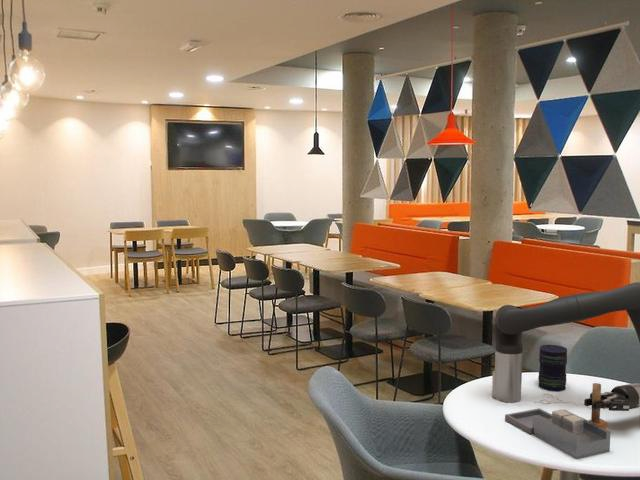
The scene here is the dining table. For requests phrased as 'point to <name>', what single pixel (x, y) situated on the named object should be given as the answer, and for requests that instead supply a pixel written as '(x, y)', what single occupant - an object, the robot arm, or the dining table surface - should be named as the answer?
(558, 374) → the storage jar
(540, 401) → the scissors
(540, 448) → the dining table surface
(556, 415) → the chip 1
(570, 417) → the chip
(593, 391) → the wooden post on base
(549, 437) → the slot board
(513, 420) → the tray
